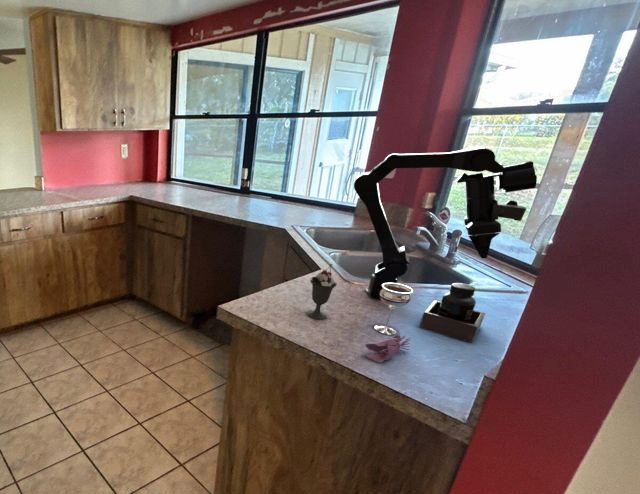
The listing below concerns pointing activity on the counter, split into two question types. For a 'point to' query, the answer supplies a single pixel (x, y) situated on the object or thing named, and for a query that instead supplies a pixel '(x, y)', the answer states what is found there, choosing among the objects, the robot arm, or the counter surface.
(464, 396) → the counter surface
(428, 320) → the caddy
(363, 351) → the counter surface
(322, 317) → the sundae
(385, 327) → the wineglass
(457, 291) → the supplement bottle
